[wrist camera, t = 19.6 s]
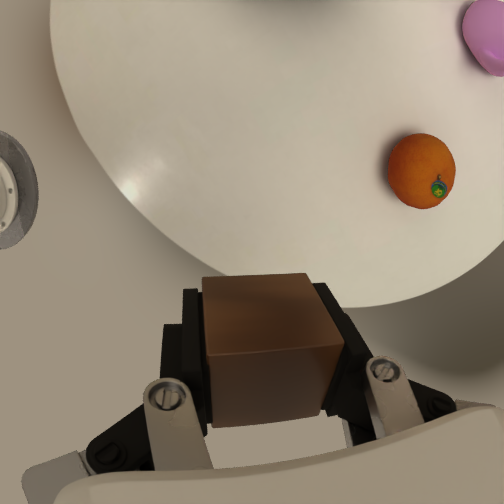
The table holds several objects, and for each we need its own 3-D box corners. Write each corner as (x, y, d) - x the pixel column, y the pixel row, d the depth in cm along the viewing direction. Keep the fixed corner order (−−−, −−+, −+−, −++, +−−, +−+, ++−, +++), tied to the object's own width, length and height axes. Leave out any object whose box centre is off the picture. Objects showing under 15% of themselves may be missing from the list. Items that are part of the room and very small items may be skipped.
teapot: (475, -15, 27) (522, -21, 16) (511, 40, 32) (557, 44, 22) (435, 42, 33) (491, 40, 22) (477, 102, 38) (529, 114, 27)
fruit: (381, 125, 38) (415, 134, 31) (434, 133, 40) (469, 144, 33) (373, 197, 43) (403, 218, 36) (425, 198, 45) (457, 217, 38)
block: (205, 352, 13) (211, 429, 9) (201, 275, 11) (206, 354, 8) (293, 346, 13) (319, 416, 10) (306, 272, 12) (345, 341, 8)
